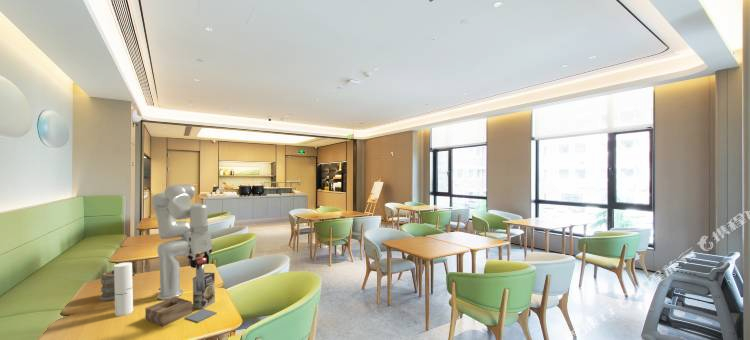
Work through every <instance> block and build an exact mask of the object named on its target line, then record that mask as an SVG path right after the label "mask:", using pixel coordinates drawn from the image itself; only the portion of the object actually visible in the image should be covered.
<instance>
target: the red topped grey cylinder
mask: <svg viewBox="0 0 750 340" xmlns="http://www.w3.org/2000/svg"><path fill="white" fill-rule="evenodd" d="M195 260H196V268H195V277H196V291H197V292H201V291H204V290H205V281H204V273H205V264H204V263H205V262H207V257H203V256H197V257H195Z"/></svg>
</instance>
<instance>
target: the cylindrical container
mask: <svg viewBox="0 0 750 340" xmlns="http://www.w3.org/2000/svg"><path fill="white" fill-rule="evenodd" d="M113 270H114V285H115V299H114V313H115V316H116V317H123V316H126V314H127V315H130V314H131V313H133V312H134V293H133V289H134V288H133V276H132V272H133V263H132V262H130V261H128V262H121V263H116V264H114V265H113ZM132 311H133V312H132Z"/></svg>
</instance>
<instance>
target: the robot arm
mask: <svg viewBox="0 0 750 340" xmlns="http://www.w3.org/2000/svg"><path fill="white" fill-rule="evenodd" d="M195 194H196V189H195V187H194V185H192V184H188V183H187V184H186V183H185V184H172V185H169V186H167V187H166V188H165V190H164V191H163V192H159V193H156V194H154V195H152V197H151V206H152V208H153V211H154V213H155V215H156V219H157V227H158V228H157V229H158V236H159V238H160V239H162V240H168V241H164V242H162V243H160V244H159V245H157V249H156V251H157V255H158V260H159V281H160V283H159V288H158V291H160V293H158V294H157V296H156V297H157V300H162V301H165V300H168V299H170V298H173V297H177V298H179V297H180V296H182V295H183V294H184V290H183V289H181V277H180V276H181V275H180V273H181V271H180V270H181V269H180V262H179V261H178V260H177V259H176V257H181V256H184V257H186V258H187V259H188V260H189V261H190V265H189V266H190V268H191V269H196V260H195V258H197V257H196V256H197V255H198V254H202V253H203V256H202V257H207V262H205V263H204V265H209V264H210V263H209V262H210V256H211V253H212V251H213V250H214V248H215V246H214V245H213V243H212V235H211V233H210V230H208V229H209V228H208V222H209V221H208V205H207V204H202V203H201V202H195V203H190V202H191V200H193V199H194V197H195ZM187 220H189V221H187ZM175 238H177V239H175ZM178 238H180V239H178ZM171 239H173V240H171Z"/></svg>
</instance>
